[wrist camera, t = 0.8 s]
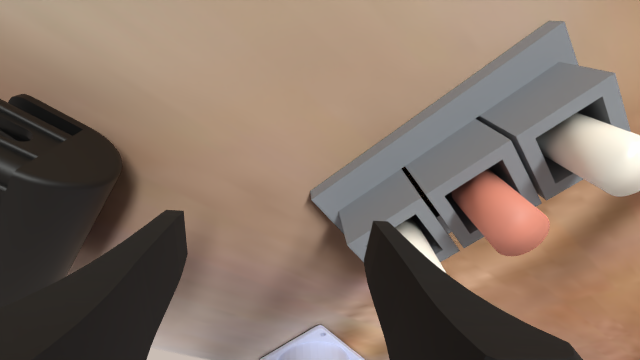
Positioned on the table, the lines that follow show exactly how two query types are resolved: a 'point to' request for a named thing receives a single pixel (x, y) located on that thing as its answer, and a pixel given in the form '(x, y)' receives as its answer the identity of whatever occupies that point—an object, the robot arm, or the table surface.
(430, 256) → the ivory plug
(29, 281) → the end cap
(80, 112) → the table surface
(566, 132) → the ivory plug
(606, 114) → the socket strip
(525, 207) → the salmon rounded peg
